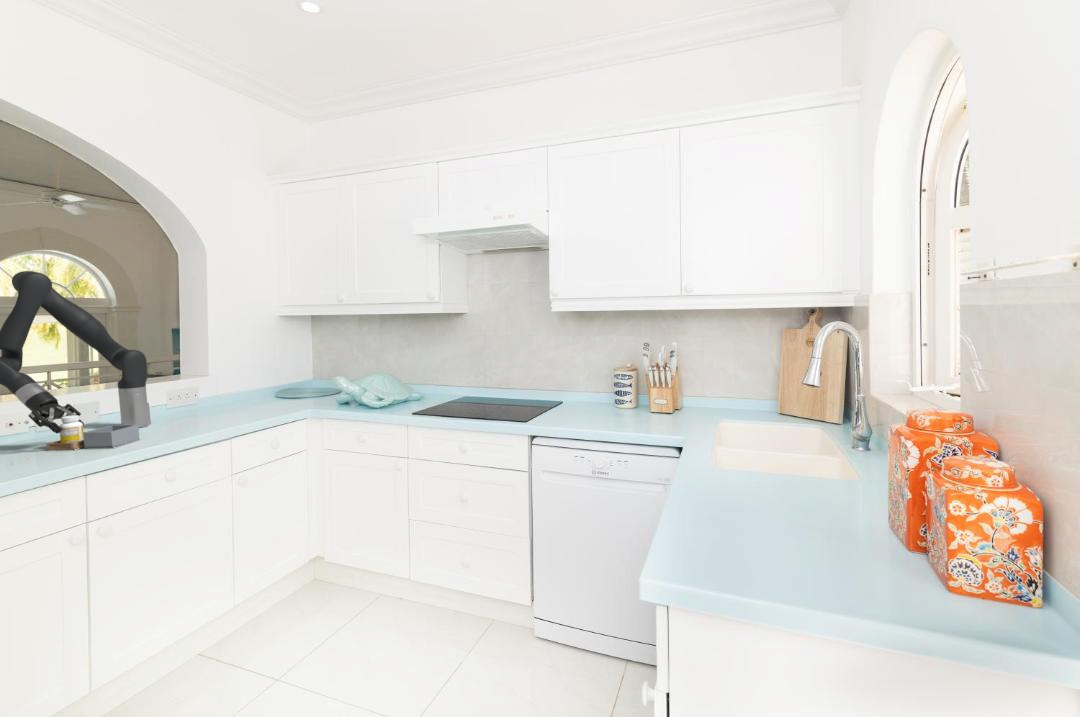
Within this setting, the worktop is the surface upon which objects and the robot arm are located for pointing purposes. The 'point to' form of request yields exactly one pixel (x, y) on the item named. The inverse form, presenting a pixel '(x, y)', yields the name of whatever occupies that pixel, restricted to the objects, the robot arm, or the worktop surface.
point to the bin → (111, 436)
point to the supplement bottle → (71, 429)
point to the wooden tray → (65, 445)
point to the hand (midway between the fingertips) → (71, 428)
